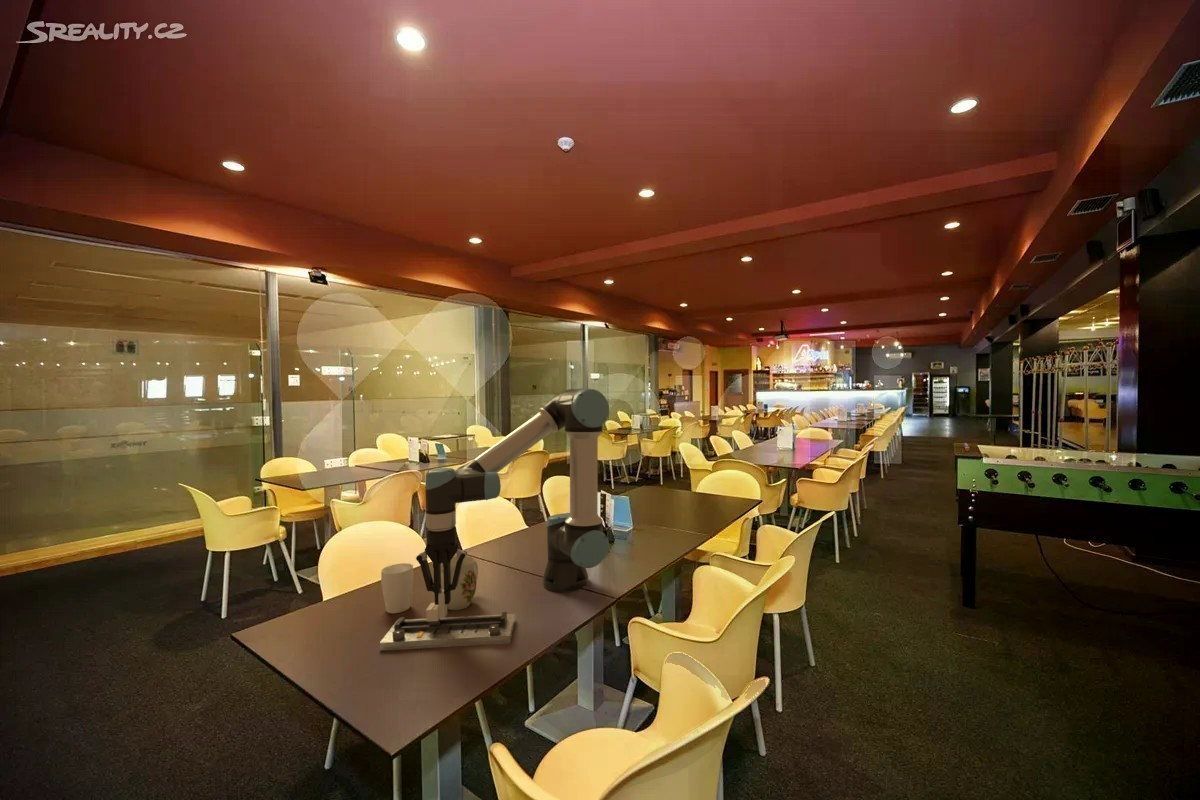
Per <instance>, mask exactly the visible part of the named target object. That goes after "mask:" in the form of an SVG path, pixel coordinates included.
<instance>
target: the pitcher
mask: <svg viewBox="0 0 1200 800" xmlns="http://www.w3.org/2000/svg"><path fill="white" fill-rule="evenodd" d="M457 560H458V559H457V557H456V556H453V558H452V559H451V564H450V568H451V584H452V581H453V576H454V572H455V567H456V563H457ZM478 575H479V566H478V563H477V561H476V560H475V558H474V557H471V556H469V555H468V556H467V555H466V556H465V558H464V559H463V563H462V568H461V572H460V576H459V581H458V585H457V587H456V589H455V590H451V601H450V603H449V604H447V610H450V611H461V610H464V609H466V608H467V607H469V606H470V604H471V603H472V601H473V600H474V597H475V593H476V590H477V580H478ZM441 586H442V587H441V590H444V568H443V563H441Z"/></svg>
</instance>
